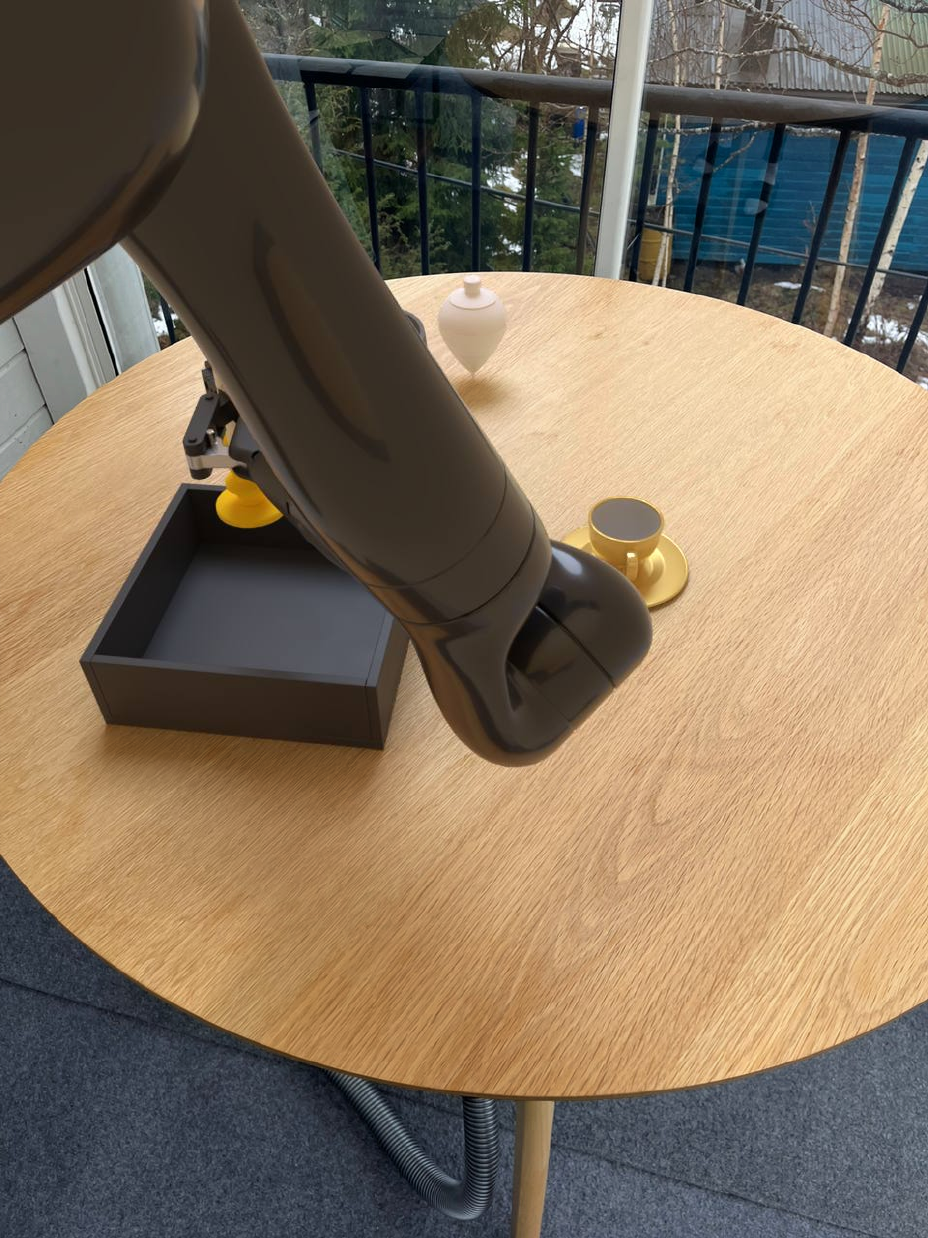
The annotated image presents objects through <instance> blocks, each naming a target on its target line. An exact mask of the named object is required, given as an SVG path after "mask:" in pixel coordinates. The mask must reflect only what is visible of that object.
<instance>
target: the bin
mask: <svg viewBox="0 0 928 1238" xmlns="http://www.w3.org/2000/svg"><path fill="white" fill-rule="evenodd" d="M226 489H227V488H226V485H218V484H204V483H189V482H181V483H180V485H179V487H178V489H177V490H176V492H175V494H174V496H173V497H172V499H171V500H170V502H169V503H168V506H167V507H166V509H165V511H164V512H163V514H162V515H161V518H160V520H159V521H158V523H157V524H156V527H155V529H154V530H153V532H152V533H151V535H150V537H149V539H148V540H147V542H146V544H145V545H144V547H143V549H142V551H141V553H140V554H139V556H138V558H137V559H136V561H135V563H134V564H133V567H132V568H131V570H130V572H129V573H128V575H127V576H126V579H125V580H124V582H123V584H122V586H121V587H120V589H119V591H117V594H116V595H115V597H114V599H113V601H112V602H111V605H110V606H109V608H108V610H107V611H106V613H105V615H104V617H103V619H102V620H101V622H100V624H99V625H98V627H97V629H96V630H95V632H94V634H93V636H92V638H91V639H90V641H89V643H88V644H87V646H86V648H85V650H84V651H83V653H82V655H81V656H80V658H79V660H78V663H79V665H80V667H81V669H82V672H83V674H84V676H85V678H86V681H87V684H88V685H89V688H90V691H91V693H92V695H93V697H94V699H95V702H96V704H97V706H98V709H99V711H100V714H101V715H102V718H103V720H104V722H105V724H108V725H118V726H127V727H129V726H130V727H139V728H149V729H159V730H168V731H169V730H171V731H179V732H180V731H181V732H189V733H190V732H191V733H201V734H202V733H203V734H213V735H223V736H233V737H243V738H254V739H264V740H265V739H266V740H276V741H287V742H296V743H307V744H315V745H328V746H338V747H350V748H357V749H358V748H360V749H370V750H380V751H381V750H382V751H383V750H384V749H385V745H386V741H387V737H388V733H389V729H390V724H391V720H392V716H393V711H394V707H395V704H396V698H397V695H398V690H399V685H400V682H401V677H402V673H403V669H404V665H405V661H406V656H407V652H408V648H409V644H410V641H411V640H410V638H409V637H408V635H407V633H406V632H405V630H404V629H403V627H402V626H401V625H400V624H399V623H398V621H397V620H396V619H395V618H394V617H393V616H391V615H390V614H389V613H388V612H387V611H386V610H385V609H384V608H383V607H382V606H381V605H380V604H379V603H378V602H377V601H376V600H375V599H374V598H373V597H372V596H371V595H370V594H369V593H368V592H367V591H366V590H365V589H364V588H363V587H362V586H361V585H360V584H359V583H358V582H357V581H356V580H355V579H354V578H353V577H352V576H351V575H349V574H348V573H347V572H346V571H344V570H342V569H341V568H339V567H338V566H337V565H335V564H334V563H333V562H331V561H330V560H329V559H327V558H326V557H325V556H324V555H323V554H322V553H321V552H320V551H319V550H318V549H317V548H316V547H315V546H314V545H313V544H312V543H310V542H308V541H307V540H306V539H305V538H304V537H303V536H302V534H301V533H300V531H299V530H298V529H297V528H296V527H295V526H294V525H293V524H292V523H291V522H290V521H289V520H288V519H287V518H286V517H285V516H284V515H283V516H282V517H281V518H280V519H278V520H276V521H274V522H273V523H271V524H268V525H265V526H261V527H255V528H240V527H234V526H232V525H229V524H227V523H225V522H224V521H223V520H221V519H220V517H219V516H218V514H217V510H216V502H217V499H218V497H219V496H220V495H221V494H222V492H224V491H225V490H226Z"/></svg>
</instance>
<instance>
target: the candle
mask: <svg viewBox="0 0 928 1238" xmlns="http://www.w3.org/2000/svg"><path fill="white" fill-rule="evenodd" d="M212 370H213V369H212ZM213 375H214V380H215V384H216V387H217V392H218V389H220V390H222V388H221V384H222V383H221V382H220V380H219V378H218V377H217V375H216V374H215V372H214V370H213ZM217 394H218V393H217ZM234 428H235V427H234V426H233V425H232V423H231V422H230V423H228V424H227V425H226V433H225V436H224V439H223V445H225V446H228V447H229V445H230V441H231V438H232V434H233V431H234ZM228 469H229V473H228V474H227V475H226V476H225V479H224V484H225V486H226V488H227V489H226V490H225V491H224V492H222V494H221V495H220V496H219V497H218V499H217V502H216V510H217V514H218V516H219V517H220V519H221V520H223V521H224V522H225V523H227V524H229V525H232V526H234V527H240V528H255V527H261V526H265V525H268V524H271V523H273V522H274V521H276V520H278V519H280V518H281V517H282V516H283V514H282V513H281V512H280V511H279V510H278V509H277V508H276V507H275V506H274V505H273V504H272V503H271V502H270V501H269V500H268V499H267V498H266V497H265V495H264V494H263V493H262V492H261V490H260V489H259V487H258V486H257V485H256V484H255V483H254V482H251V481H249V480H245V479H242V478H240V477H238V476H237V475H235V474H234V472H233V470H232V468H228Z"/></svg>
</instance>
